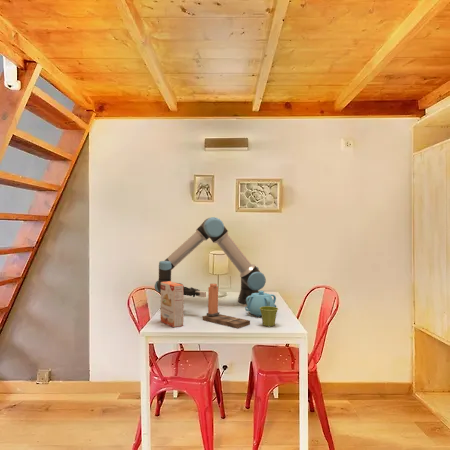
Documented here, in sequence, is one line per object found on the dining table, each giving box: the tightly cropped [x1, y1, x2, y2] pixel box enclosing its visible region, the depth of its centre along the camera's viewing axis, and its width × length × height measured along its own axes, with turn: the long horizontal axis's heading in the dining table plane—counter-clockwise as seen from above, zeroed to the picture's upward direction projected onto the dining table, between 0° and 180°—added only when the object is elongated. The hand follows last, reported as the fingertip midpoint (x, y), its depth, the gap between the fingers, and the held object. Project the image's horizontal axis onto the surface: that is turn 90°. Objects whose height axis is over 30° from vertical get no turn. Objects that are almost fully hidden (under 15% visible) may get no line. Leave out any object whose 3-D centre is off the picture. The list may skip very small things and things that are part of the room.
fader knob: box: [206, 283, 221, 316], centre depth 204 cm, size 4×6×16 cm, turn 140°
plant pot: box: [260, 306, 279, 327], centre depth 193 cm, size 9×9×9 cm
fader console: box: [202, 313, 251, 329], centre depth 198 cm, size 24×10×2 cm, turn 50°
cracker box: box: [160, 280, 185, 328], centre depth 193 cm, size 14×6×21 cm, turn 38°
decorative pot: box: [244, 290, 277, 318], centre depth 216 cm, size 16×16×14 cm
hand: (204, 294), depth 207 cm, fingers closed
